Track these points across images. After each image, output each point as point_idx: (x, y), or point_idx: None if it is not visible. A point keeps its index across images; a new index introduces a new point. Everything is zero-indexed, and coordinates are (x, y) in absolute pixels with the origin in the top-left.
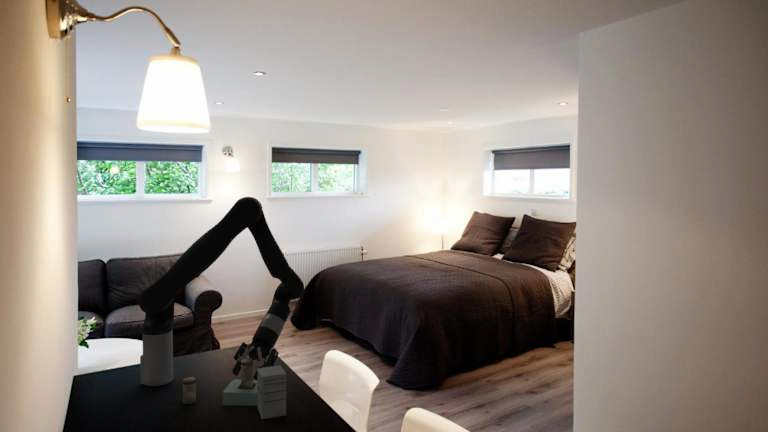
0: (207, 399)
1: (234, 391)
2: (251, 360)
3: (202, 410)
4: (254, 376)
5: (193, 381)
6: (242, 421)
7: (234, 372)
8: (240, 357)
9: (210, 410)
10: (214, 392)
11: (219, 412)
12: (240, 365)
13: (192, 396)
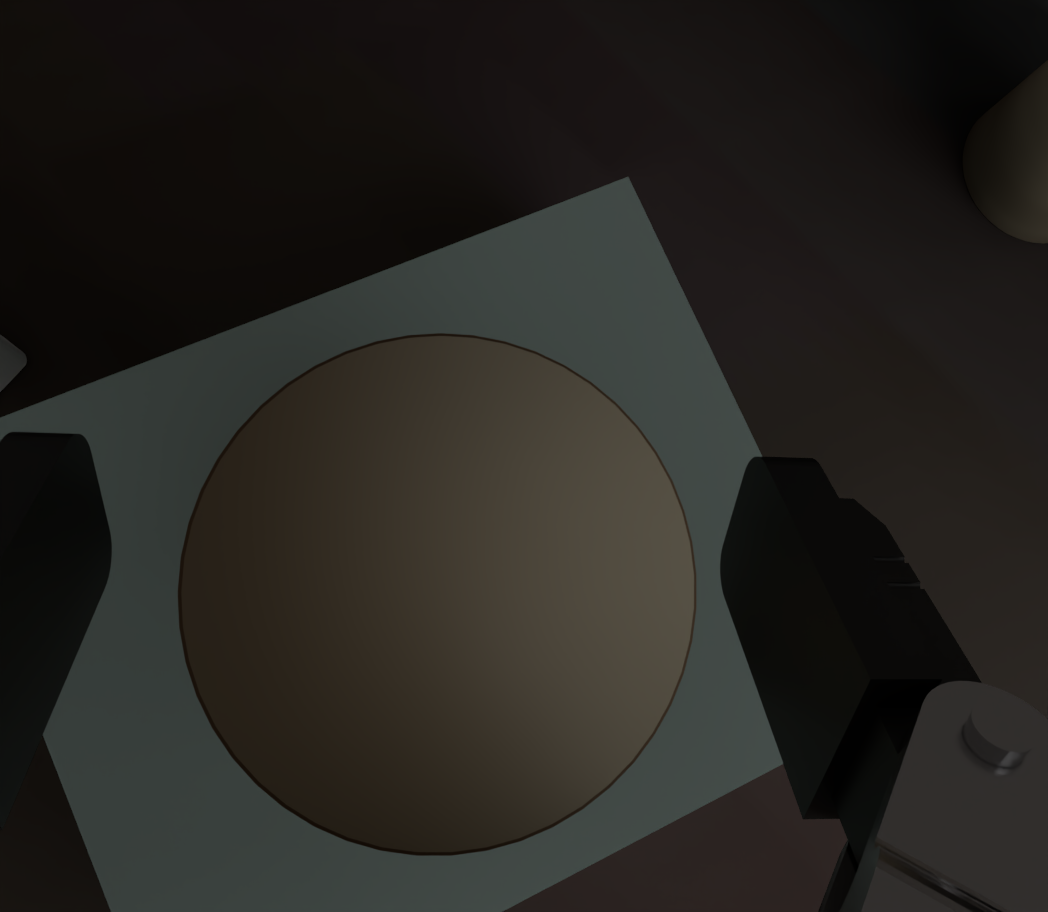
0: (895, 315)
1: (468, 287)
2: (295, 713)
3: (702, 51)
4: (41, 440)
5: None
6: (6, 3)
7: (759, 473)
8: (1019, 834)
9: (614, 87)
10: (991, 529)
11: (468, 87)
12: (816, 715)
13: (1024, 103)
